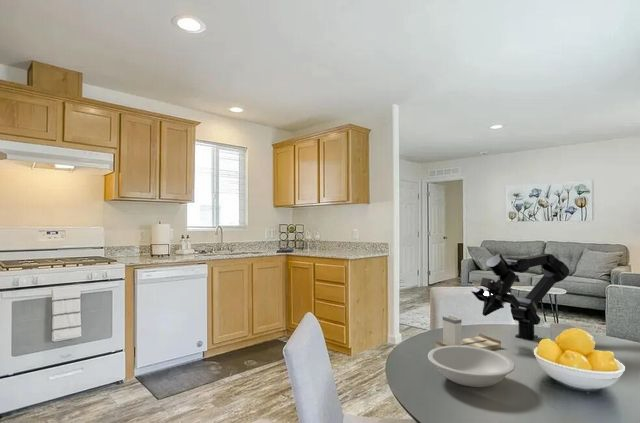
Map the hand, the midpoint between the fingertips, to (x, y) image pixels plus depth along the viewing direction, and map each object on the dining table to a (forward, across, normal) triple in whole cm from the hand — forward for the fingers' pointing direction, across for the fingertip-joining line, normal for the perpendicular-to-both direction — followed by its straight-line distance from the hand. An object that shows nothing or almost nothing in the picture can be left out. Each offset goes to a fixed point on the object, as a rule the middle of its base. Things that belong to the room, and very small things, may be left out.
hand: (483, 315), depth 145 cm
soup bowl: (+29, +22, -13) cm, 39 cm away
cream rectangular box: (+18, 0, -5) cm, 18 cm away
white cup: (-4, +19, +20) cm, 28 cm away
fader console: (+14, 0, +2) cm, 14 cm away
